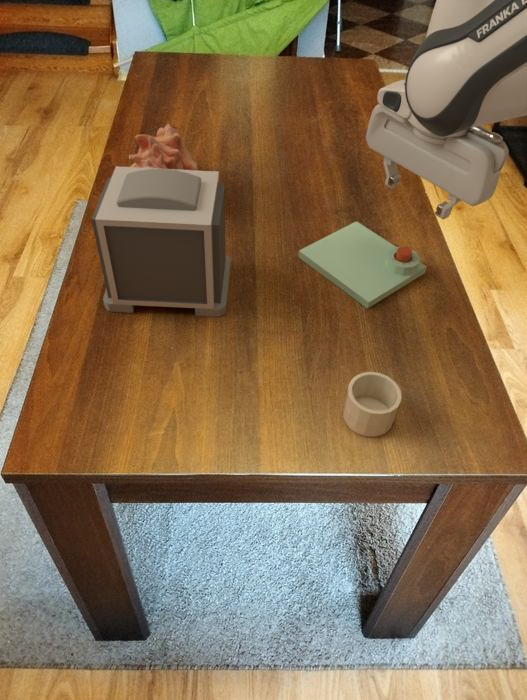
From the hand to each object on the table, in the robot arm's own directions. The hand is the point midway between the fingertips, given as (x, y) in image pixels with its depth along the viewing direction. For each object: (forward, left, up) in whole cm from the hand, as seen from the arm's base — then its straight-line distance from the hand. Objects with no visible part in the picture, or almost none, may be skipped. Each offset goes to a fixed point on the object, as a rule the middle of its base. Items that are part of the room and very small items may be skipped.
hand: (416, 200), depth 84 cm
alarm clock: (+20, +31, -14) cm, 40 cm away
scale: (+5, +3, -14) cm, 15 cm away
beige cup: (-17, +25, -14) cm, 33 cm away
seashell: (+42, +18, -14) cm, 48 cm away
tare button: (0, -1, -12) cm, 12 cm away
